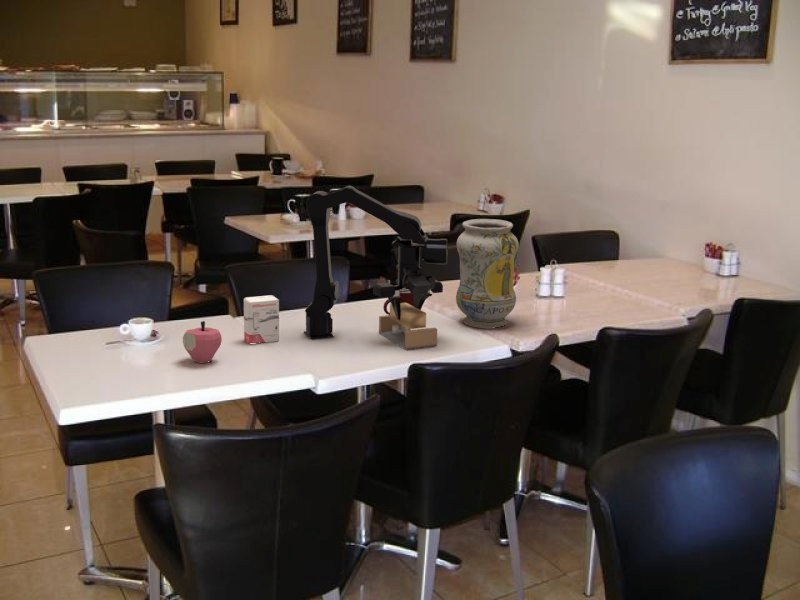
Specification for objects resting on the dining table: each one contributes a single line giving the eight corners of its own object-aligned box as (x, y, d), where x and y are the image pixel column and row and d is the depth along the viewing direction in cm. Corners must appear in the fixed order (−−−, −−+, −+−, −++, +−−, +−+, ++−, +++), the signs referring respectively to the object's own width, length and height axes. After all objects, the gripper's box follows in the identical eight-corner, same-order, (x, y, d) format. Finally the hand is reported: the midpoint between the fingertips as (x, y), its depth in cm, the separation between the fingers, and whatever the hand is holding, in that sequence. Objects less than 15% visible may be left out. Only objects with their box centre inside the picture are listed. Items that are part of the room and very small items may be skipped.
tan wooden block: (409, 329, 239) (409, 314, 238) (389, 318, 250) (389, 304, 249) (425, 327, 242) (426, 313, 241) (405, 316, 252) (406, 302, 251)
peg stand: (406, 350, 237) (407, 332, 236) (378, 333, 252) (379, 316, 251) (436, 346, 241) (437, 328, 240) (407, 330, 256) (407, 313, 255)
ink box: (249, 345, 239) (248, 301, 236) (243, 340, 243) (242, 297, 240) (280, 341, 243) (279, 298, 240) (273, 336, 247) (273, 294, 244)
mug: (390, 328, 258) (391, 294, 255) (378, 321, 265) (379, 288, 262) (423, 324, 262) (424, 291, 260) (410, 318, 269) (411, 285, 267)
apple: (177, 360, 225) (176, 321, 222) (207, 353, 230) (206, 316, 228) (198, 369, 218) (197, 330, 216) (228, 362, 224) (227, 323, 221)
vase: (483, 335, 253) (488, 229, 246) (441, 321, 267) (444, 220, 259) (527, 325, 265) (533, 224, 257) (484, 312, 278) (488, 216, 271)
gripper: (390, 271, 231) (389, 329, 234) (454, 266, 239) (451, 322, 243) (372, 262, 240) (371, 319, 244) (434, 258, 248) (432, 312, 252)
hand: (407, 318), depth 245 cm, fingers closed on tan wooden block, 5 cm apart
